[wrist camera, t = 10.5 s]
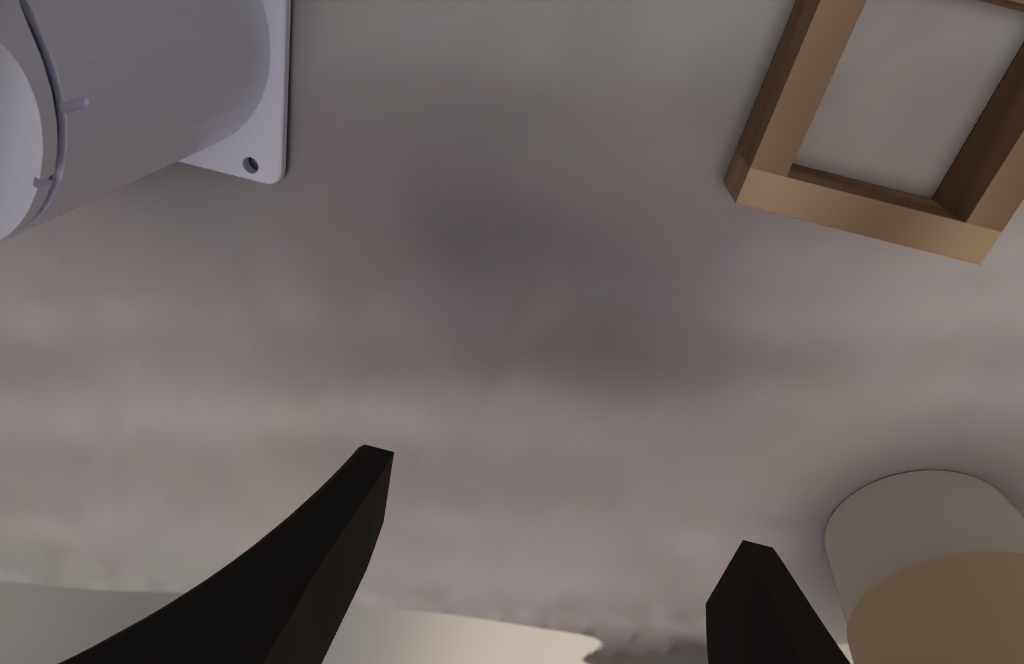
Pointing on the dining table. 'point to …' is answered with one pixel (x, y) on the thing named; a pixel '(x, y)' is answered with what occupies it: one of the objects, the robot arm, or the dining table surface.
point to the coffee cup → (929, 571)
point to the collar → (863, 206)
